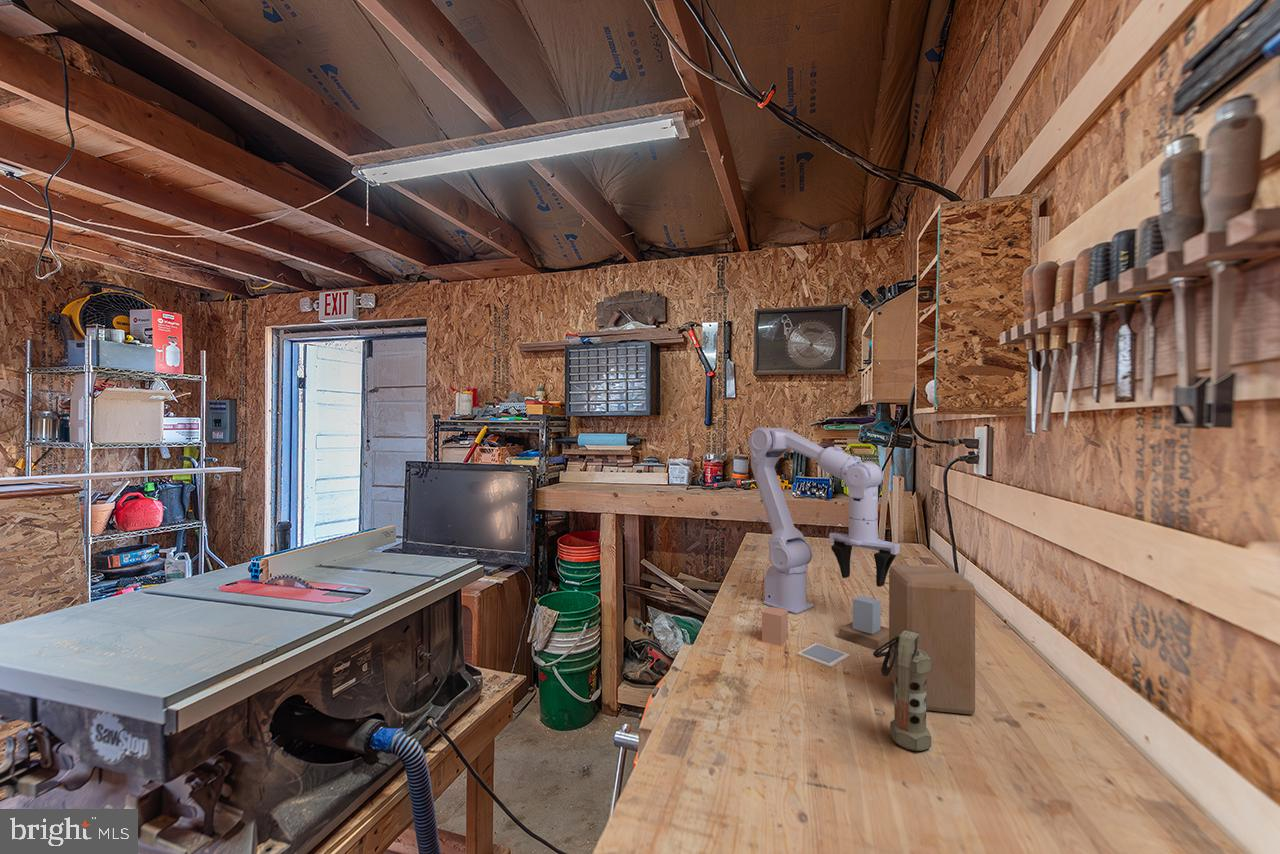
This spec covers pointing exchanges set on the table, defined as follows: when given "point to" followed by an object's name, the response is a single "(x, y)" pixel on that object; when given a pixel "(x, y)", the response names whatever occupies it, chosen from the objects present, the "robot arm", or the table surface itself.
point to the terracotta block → (775, 626)
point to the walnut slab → (864, 636)
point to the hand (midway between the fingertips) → (862, 581)
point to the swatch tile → (823, 655)
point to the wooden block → (938, 630)
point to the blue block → (866, 614)
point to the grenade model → (908, 690)
